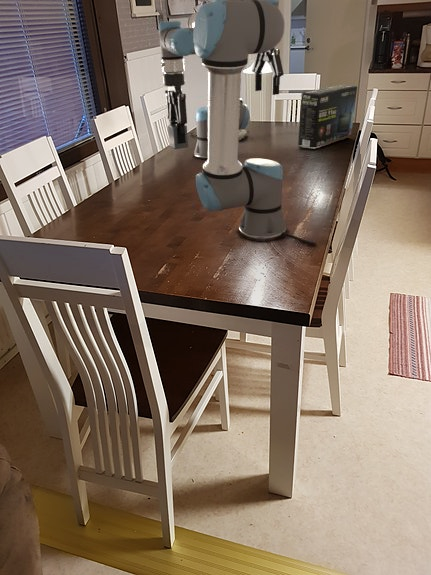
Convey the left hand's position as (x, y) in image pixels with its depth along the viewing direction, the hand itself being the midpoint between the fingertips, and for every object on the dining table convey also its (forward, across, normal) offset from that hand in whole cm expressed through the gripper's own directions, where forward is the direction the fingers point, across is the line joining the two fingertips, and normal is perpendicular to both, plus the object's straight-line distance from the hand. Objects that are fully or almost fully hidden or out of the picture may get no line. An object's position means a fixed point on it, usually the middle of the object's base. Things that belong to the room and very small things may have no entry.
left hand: (266, 92), depth 193 cm
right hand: (+11, +14, -47) cm, 50 cm away
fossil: (+32, -60, +16) cm, 70 cm away
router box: (+32, -21, +51) cm, 64 cm away
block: (+13, +14, -47) cm, 51 cm away
